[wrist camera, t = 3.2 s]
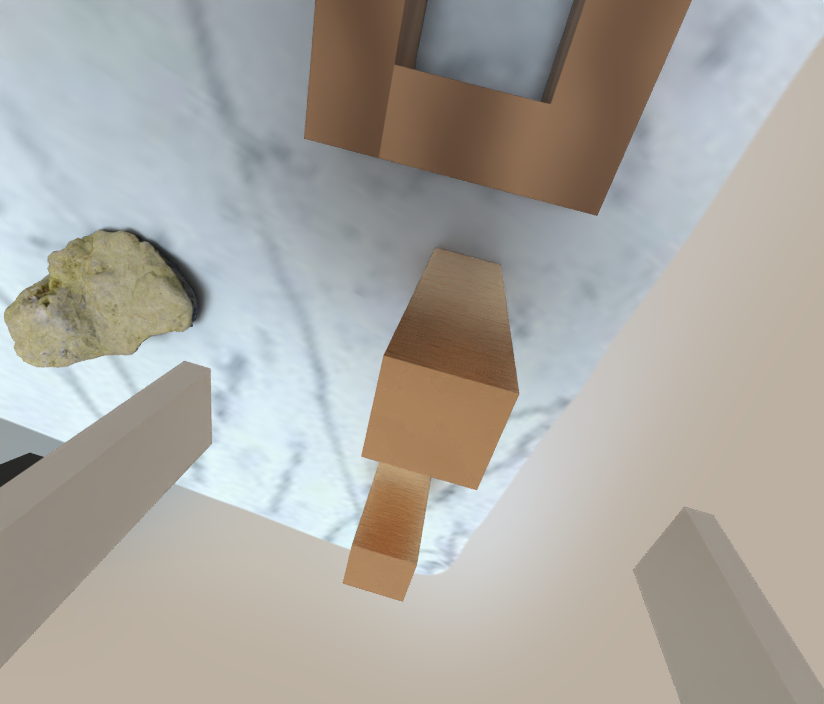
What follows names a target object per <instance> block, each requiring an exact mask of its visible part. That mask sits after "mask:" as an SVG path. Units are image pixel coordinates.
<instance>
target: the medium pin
mask: <svg viewBox="0 0 824 704" xmlns="http://www.w3.org/2000/svg"><path fill="white" fill-rule="evenodd" d="M430 481H431V477H430V476H426V475H423V474H420V473H416V472H413V471H409V470H406V469H402V468H399V467H396V466H392V465H389V464H385V463H382V462H379V465H378V468H377V471H376V474H375V477H374V480H373V483H372V486H371V489H370V492H369V495H368V498H367V501H366V504H365V507H364V510H363V513H362V516H361V519H360V522H359V525H358V528H357V531H356V534H355V537H354V540H353V543H352V547H351V551H350V555H349V560H348V564H347V568H346V572H345V576H344V580H343V584H347V585H350V586H353V587H356V588H359V589H363V590H366V591H370V592H373V593H376V594H379V595H383V596H386V597H389V598H392V599H396V600H399V601H403V600H404V597H405V595H406V592H407V589H408V587H409V584H410V581H411V579H412V576H413V574H414V571H415V568H416V566H417V562H418V555H419V549H420V543H421V537H422V530H423V524H424V518H425V512H426V506H427V499H428V493H429V487H430Z"/></svg>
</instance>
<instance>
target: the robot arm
mask: <svg viewBox="0 0 824 704" xmlns="http://www.w3.org/2000/svg"><path fill="white" fill-rule="evenodd" d="M211 444H212V425H211V370H210V368H207V367H203V366H200V365H197V364H193V363H190V362H186V361H183V362H182V363H180V364H179V365H178V366H176V367H175V368H173V369H172V370H170V371H169V372H167V373H166V374H164V375H163V376H162V377H160V378H159V379H157V380H156V381H154V382H153V383H151V384H150V385H148V386H147V387H146V388H144V389H143V390H141V391H140V392H138V393H137V394H135V395H134V396H132V397H131V398H130V399H128V400H127V401H125V402H124V403H122V404H121V405H119V406H118V407H116V408H115V409H114V410H112V411H111V412H109V413H108V414H106V415H105V416H103V417H102V418H100V419H99V420H98V421H96V422H95V423H93V424H92V425H90V426H89V427H87V428H86V429H85V430H83V431H82V432H80V433H79V434H77V435H76V436H74V437H73V438H71V439H70V440H69V441H67V442H66V443H64V444H63V445H61V446H60V447H58V448H57V449H56V450H54V451H53V452H51V453H50V454H48V455H47V456H45V457H42V456H39V455H36V454H32V453H28V454H25V455H23V456H20V457H18V458H15V459H13V460H10V461H8V462H5V463H3V464H0V668H1V667H2V666H3V665H4V664H5V663H6V662H7V661H8V660H9V659H10V657H11V656H12V655H13V654H14V653H15V652H16V651H17V650H18V649H19V648H20V647H21V646H22V645H23V644H24V643H25V642H26V640H27V639H28V638H29V637H30V636H31V635H32V634H33V633H34V632H35V631H36V630H37V629H38V628H39V627H40V626H41V624H42V623H43V622H44V621H45V620H46V619H47V618H48V617H49V616H50V615H51V614H52V613H53V612H54V611H55V610H56V608H58V607H59V605H60V604H61V603H62V602H63V601H64V600H65V599H66V598H67V597H68V596H69V595H70V594H71V593H72V592H73V591H74V590H75V588H76V587H77V586H78V585H79V584H80V583H81V582H82V581H83V580H84V579H85V578H86V577H87V576H88V574H90V572H91V571H92V570H93V569H94V568H95V567H96V566H97V565H98V564H99V563H100V562H101V561H102V560H103V559H104V558H105V557H106V555H107V554H108V553H109V552H110V551H111V550H112V549H113V548H114V547H115V546H116V545H117V544H118V543H119V542H120V541H121V539H123V537H124V536H125V535H126V534H127V533H128V532H129V531H130V530H131V529H132V528H133V527H134V526H135V525H136V524H137V523H138V522H139V520H140V519H141V518H142V517H143V516H144V515H145V514H146V513H147V512H148V511H149V510H150V509H151V508H152V507H153V506H154V504H156V502H157V501H158V500H159V499H160V498H161V497H162V496H163V495H164V494H165V493H166V492H167V491H168V490H169V489H170V488H171V486H172V485H173V484H174V483H175V482H176V481H177V480H178V479H179V478H180V477H181V476H182V475H183V474H184V473H185V472H186V471H187V470H188V468H189V467H190V466H191V465H192V464H193V463H194V462H195V461H196V460H197V459H198V458H199V457H200V456H201V455H202V454H203V453H204V451H205V450H206V449H207V448H208V447H209V446H210V445H211ZM633 571H634V574H635V576H636V579H637V582H638V585H639V588H640V591H641V593H642V596H643V599H644V601H645V604H646V607H647V610H648V613H649V616H650V618H651V621H652V624H653V627H654V630H655V632H656V635H657V638H658V640H659V644H660V647H661V649H662V652H663V655H664V658H665V661H666V663H667V666H668V669H669V672H670V674H671V677H672V680H673V683H674V686H675V688H676V691H677V694H678V697H679V700H680V702H681V704H824V689H823V687H822V685H821V684H820V682H819V681H818V679H817V678H816V676H815V674H814V673H813V672H812V670H811V668H810V666H809V665H808V663H807V662H806V660H805V659H804V657H803V655H802V654H801V652H800V651H799V649H798V648H797V646H796V644H795V643H794V641H793V640H792V638H791V636H790V635H789V634H788V632H787V630H786V629H785V627H784V625H783V624H782V622H781V621H780V619H779V618H778V616H777V614H776V613H775V611H774V610H773V608H772V607H771V605H770V603H769V602H768V600H767V599H766V597H765V596H764V594H763V592H762V591H761V589H760V588H759V586H758V585H757V583H756V581H755V580H754V578H753V577H752V575H751V573H750V572H749V570H748V569H747V567H746V566H745V564H744V562H743V561H742V560H741V558H740V556H739V555H738V553H737V551H736V550H735V548H734V547H733V545H732V544H731V542H730V540H729V539H728V538H727V536H726V534H725V533H724V531H723V529H722V528H721V526H720V525H719V524H718V522H717V520H716V519H715V517H714V515H711V514H708V513H705V512H701V511H698V510H694V509H691V508H687V507H684V508H683V509H682V510H681V511H680V512H679V514H678V515H677V516H676V517H675V519H674V520H673V521H672V522H671V524H670V525H669V526H668V527H667V528H666V530H665V531H664V532H663V533H662V535H661V536H660V537H659V538H658V540H657V541H656V542H655V543H654V545H653V546H652V547H651V548H650V549H649V551H648V552H647V553H646V554H645V556H644V557H643V558H642V559H641V561H640V562H639V563H638V564H637V565H636V567H635V568H634V569H633Z"/></svg>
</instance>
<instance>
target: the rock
mask: <svg viewBox="0 0 824 704" xmlns="http://www.w3.org/2000/svg"><path fill="white" fill-rule="evenodd" d="M48 263H49V267H48V268H47V269H48V271H49V275H47V276H46V277H44V278H43V279H42V280H41V281H39V282H37V283H35V284H33V286H31V287H28V288H26V289H25V290H23V291H22V292H21V293H20V294H19V296H18V297H17V298H16V300H15V302H13V303H12V304H11V305H10V306H8V307H7V309H6V310H5V312H4V320H5V323H6V325H7V326H8V329H9V332H10V335H11V337H12V339H13V340H14V342H15V345H14V349H15V351H16V354H17V355H18V356H19V357H21V358H22V359H23V361H24V362H27V363H28V364H31V365H33V366H36V367H66V366H69V365H71V364H74V363H77V362H80V361H84V360H88V359H94V358H97V357H100V356H104V355H131V354H133V353H135V352H136V351H137V350H138V347H140V345H141V343H142V342H144V341H145V340H146V339H148V338H149V337H151V336H152V335H158V334H164V333H168V332H173V331H176V332H184V331H185V330H187V329H188V328H189V327H193V324H192V323H193V322H194V320H195V319H196V316H197V313H198V304H197V300H196V297H195V293H194V292H193V290H192V289H191V287H190V286H189V284H188V283H187V282H186V281H185V280H184V278H183V277H182V275H181V274H180V273H179V272H178V267H177V265H176V264H175V263H173V262H170V261H169V260H167V259H166V258H165V257H164V256H162V255H161V253H160V252H159V250H157V249H156V248H154V247H153V246H152V245H151V244H150V243H149V242H146V241H144V242H142V239H140V237H138V236H136V235H135V234H132V233H129V232H124V231H121V230H119V231H117V232H113V233H111V232H107V231H103V230H100V229H99V230H98V231H96V232H95V233H93V234H91V235H89V236H85V237H83V238H82V239H80V238H77V239H75V240H73V241H70V242H69V243H68V245H67V246H66V248H65V249H63V250H61V251H54V252H52V253H51V254H50V255H49V256H48Z"/></svg>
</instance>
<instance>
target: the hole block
mask: <svg viewBox="0 0 824 704" xmlns="http://www.w3.org/2000/svg"><path fill="white" fill-rule="evenodd" d="M691 1H692V0H574V2H573V5H572V8H571V11H570V14H569V17H568V20H567V23H566V27H565V30H564V33H563V36H562V39H561V42H560V45H559V48H558V51H557V54H556V57H555V60H554V63H553V66H552V69H551V72H550V75H549V78H548V82H547V85H546V88H545V91H544V94H543V97H542V100H541V102H539V101H535V100H531V99H528V98H524V97H520V96H516V95H512V94H508V93H504V92H500V91H496V90H492V89H488V88H484V87H480V86H476V85H473V84H469V83H465V82H461V81H457V80H453V79H449V78H445V77H441V76H437V75H433V74H429V73H425V72H422V71H418V70H414V68H415V62H416V57H417V52H418V46H419V41H420V36H421V30H422V25H423V20H424V14H425V9H426V4H427V0H316V2H315V14H314V26H313V38H312V51H311V63H310V75H309V87H308V100H307V112H306V124H305V136H304V139H308V140H312V141H316V142H319V143H323V144H327V145H331V146H335V147H338V148H342V149H346V150H350V151H354V152H357V153H361V154H365V155H369V156H372V157H376V158H380V159H384V160H388V161H391V162H395V163H399V164H403V165H407V166H410V167H414V168H418V169H422V170H426V171H429V172H433V173H437V174H441V175H445V176H448V177H452V178H456V179H460V180H463V181H467V182H471V183H475V184H479V185H482V186H486V187H490V188H494V189H498V190H501V191H505V192H509V193H513V194H517V195H520V196H524V197H528V198H532V199H536V200H539V201H543V202H547V203H551V204H554V205H558V206H562V207H566V208H570V209H573V210H577V211H581V212H585V213H589V214H592V215H596V216H597V215H598V213H599V211H600V208H601V206H602V204H603V201H604V199H605V197H606V195H607V192H608V190H609V188H610V185H611V183H612V181H613V179H614V176H615V174H616V172H617V170H618V167H619V165H620V163H621V160H622V158H623V156H624V154H625V151H626V149H627V147H628V144H629V142H630V140H631V138H632V135H633V133H634V131H635V129H636V126H637V124H638V122H639V119H640V117H641V115H642V113H643V110H644V108H645V106H646V104H647V101H648V99H649V97H650V94H651V92H652V90H653V88H654V85H655V83H656V81H657V78H658V76H659V74H660V72H661V69H662V67H663V65H664V63H665V60H666V58H667V56H668V53H669V51H670V49H671V47H672V44H673V42H674V40H675V37H676V35H677V33H678V31H679V28H680V26H681V24H682V22H683V19H684V17H685V15H686V12H687V10H688V8H689V6H690V3H691Z"/></svg>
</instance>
